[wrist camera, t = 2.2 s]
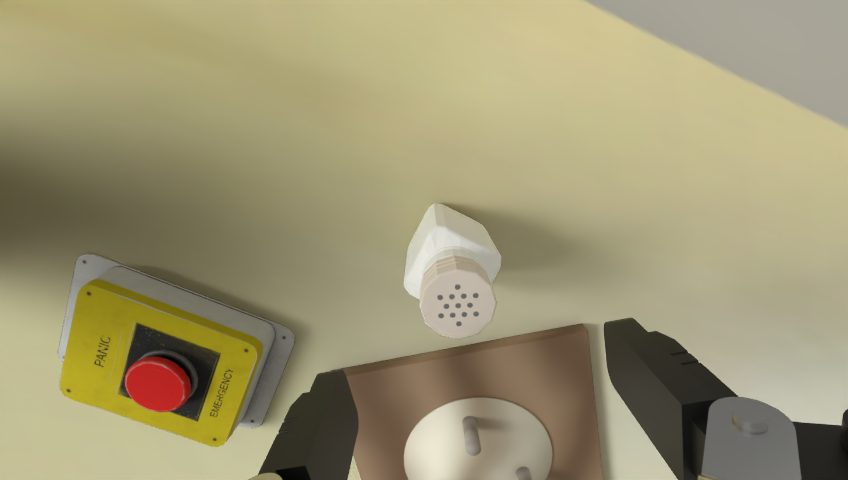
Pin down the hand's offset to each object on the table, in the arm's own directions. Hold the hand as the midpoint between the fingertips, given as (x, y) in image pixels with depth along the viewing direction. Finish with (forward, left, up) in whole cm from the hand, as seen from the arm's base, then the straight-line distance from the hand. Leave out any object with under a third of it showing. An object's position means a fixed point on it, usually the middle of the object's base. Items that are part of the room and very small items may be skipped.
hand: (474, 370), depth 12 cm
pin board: (-1, -17, -14) cm, 22 cm away
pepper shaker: (0, 0, -14) cm, 14 cm away
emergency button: (-20, -4, -15) cm, 25 cm away
